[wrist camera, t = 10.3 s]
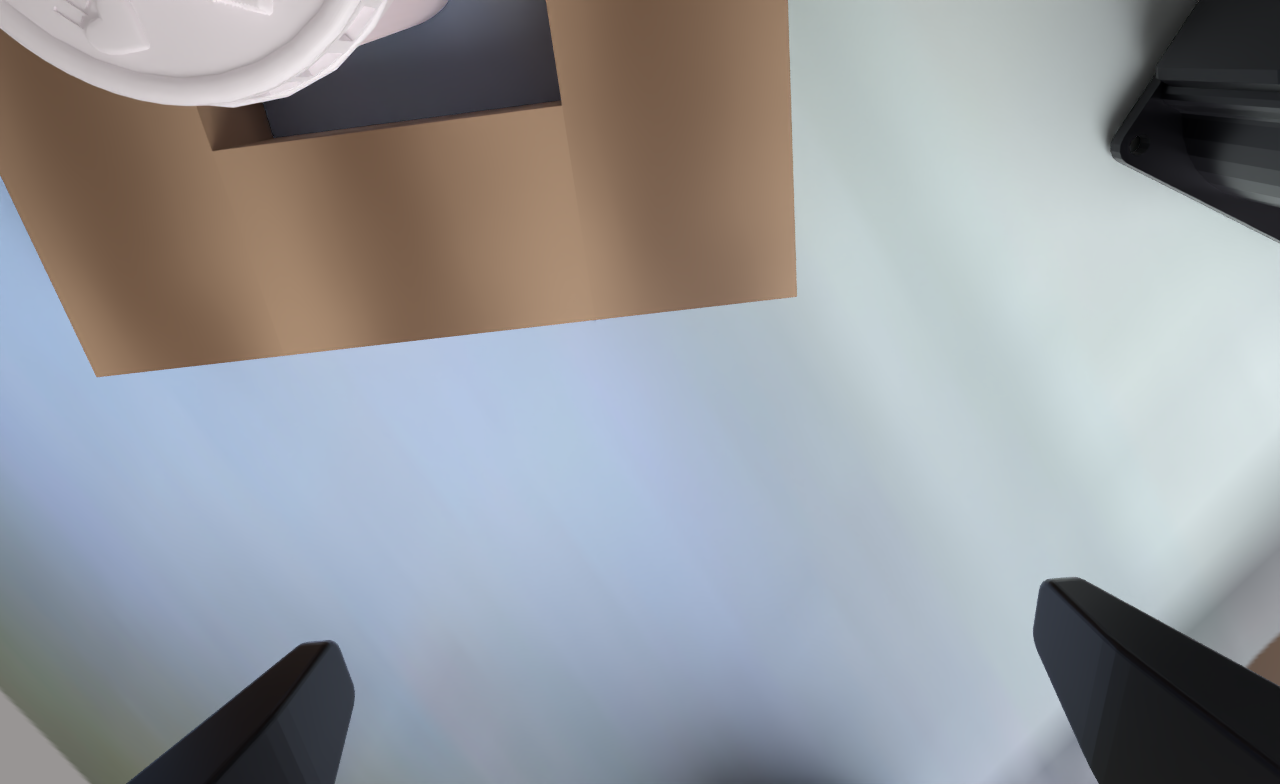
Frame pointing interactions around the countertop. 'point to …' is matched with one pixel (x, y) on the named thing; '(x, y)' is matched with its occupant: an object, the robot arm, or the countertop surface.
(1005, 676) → the countertop surface
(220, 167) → the hole board
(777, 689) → the countertop surface
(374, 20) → the smoothie
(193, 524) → the countertop surface
